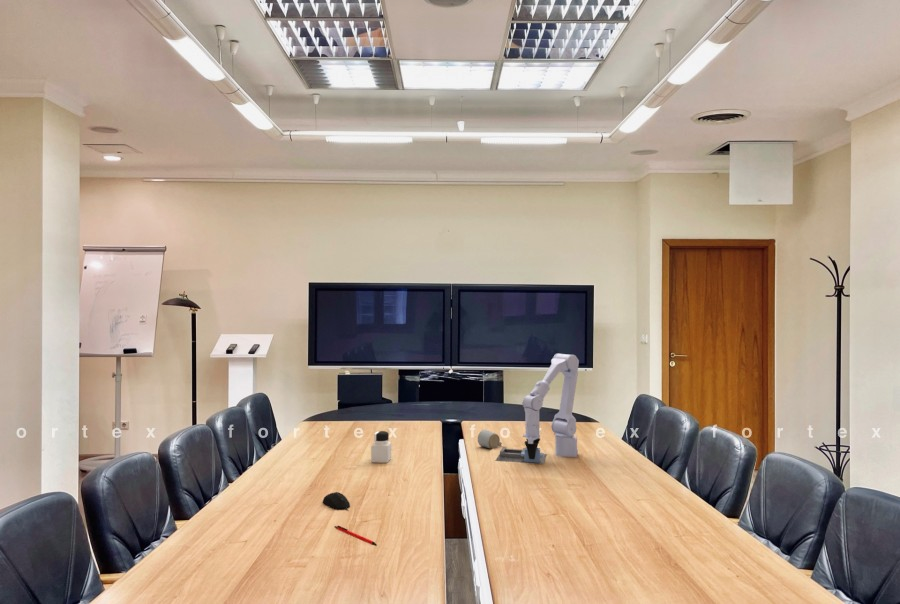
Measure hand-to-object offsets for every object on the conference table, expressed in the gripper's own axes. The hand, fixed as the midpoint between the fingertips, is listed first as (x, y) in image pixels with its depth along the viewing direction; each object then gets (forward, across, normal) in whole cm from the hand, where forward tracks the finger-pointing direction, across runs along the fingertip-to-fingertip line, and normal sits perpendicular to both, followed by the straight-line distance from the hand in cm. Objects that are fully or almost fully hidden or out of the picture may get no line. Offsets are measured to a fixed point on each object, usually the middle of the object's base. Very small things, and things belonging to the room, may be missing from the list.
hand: (532, 457), depth 234 cm
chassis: (+2, -4, -5) cm, 7 cm away
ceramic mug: (+2, -23, -22) cm, 31 cm away
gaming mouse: (+3, +67, -55) cm, 87 cm away
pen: (+3, +88, -40) cm, 97 cm away
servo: (+1, 0, 0) cm, 1 cm away
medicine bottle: (+2, +12, -62) cm, 63 cm away
